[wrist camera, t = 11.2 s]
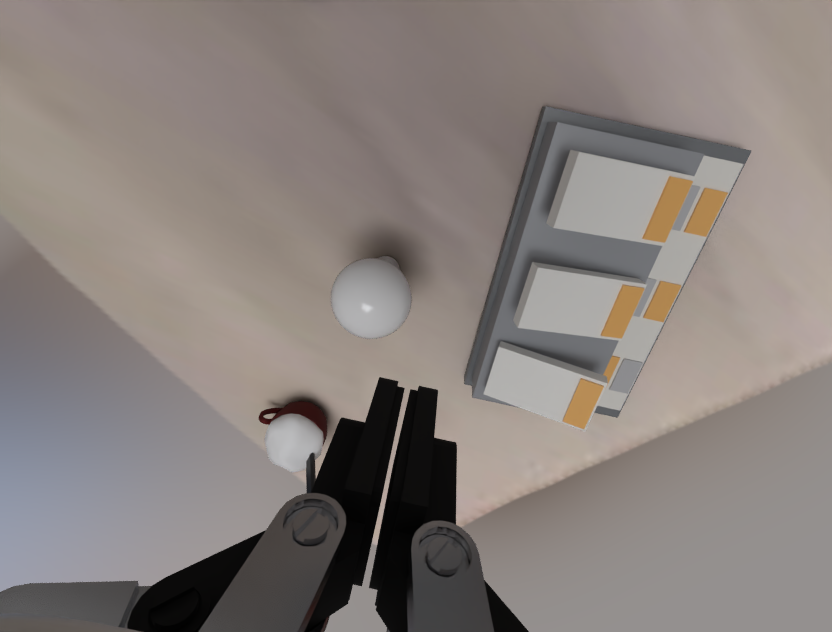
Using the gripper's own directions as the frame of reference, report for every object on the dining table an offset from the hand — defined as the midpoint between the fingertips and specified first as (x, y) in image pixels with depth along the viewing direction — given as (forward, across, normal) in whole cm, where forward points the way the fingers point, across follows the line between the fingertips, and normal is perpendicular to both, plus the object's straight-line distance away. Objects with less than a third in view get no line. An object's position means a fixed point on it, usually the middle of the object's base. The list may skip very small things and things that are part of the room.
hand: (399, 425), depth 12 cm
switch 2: (+23, -12, +3) cm, 26 cm away
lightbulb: (+29, +4, +6) cm, 30 cm away
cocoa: (+29, +10, +26) cm, 41 cm away
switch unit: (+29, -14, +3) cm, 32 cm away
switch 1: (+23, -12, -5) cm, 26 cm away
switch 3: (+23, -12, +11) cm, 28 cm away
